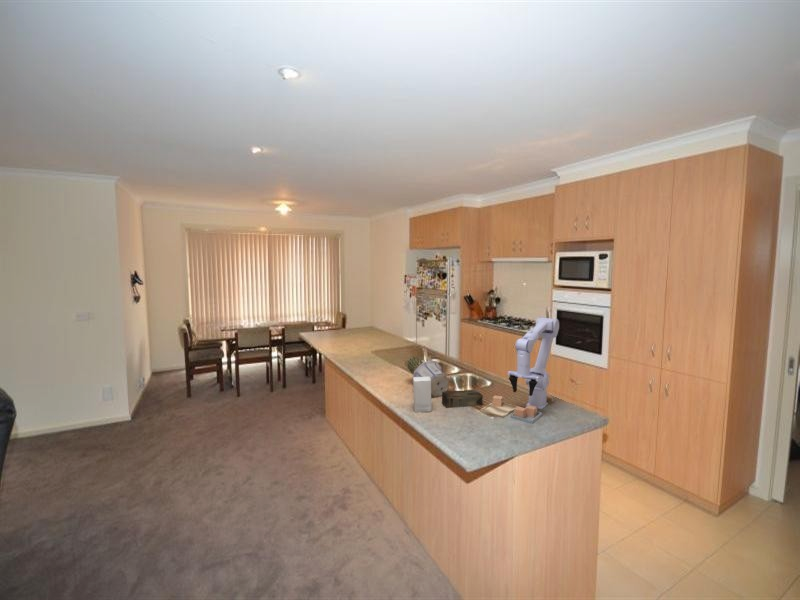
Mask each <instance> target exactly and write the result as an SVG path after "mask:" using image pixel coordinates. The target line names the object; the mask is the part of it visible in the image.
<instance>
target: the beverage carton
mask: <svg viewBox="0 0 800 600" xmlns="http://www.w3.org/2000/svg"><path fill="white" fill-rule="evenodd" d="M441 404H442V405H443V407H444V408H445V409H451V408H452V409H454V408H464V407H465V408H466V407H478V406H483V394H482V393H481V392H480V391H479V390H478V389H472V390H455V391H453V390H452V391H446V392H442V395H441Z"/></svg>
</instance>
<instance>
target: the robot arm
mask: <svg viewBox="0 0 800 600" xmlns="http://www.w3.org/2000/svg"><path fill="white" fill-rule="evenodd" d="M559 330H560V320H559V319H558V318H549V317H541V316H538V317H537V318H536V321H535V326H534V327H533V329H532V330H528V331H527V332H526V333H525V334H524V335H523V337H521V338H518V339H516V342H515V345H514V349H515V351H516V352H515V353H516V355H517V357H516V358H517V360H516V361H517V363H516V371H515V370H514V371H513V370H509V371H507V376H508V380H509V381H510V384H511V387H512V391H513V393H516V392H517V389H518V379H519V378H520V379H524V380H525V383H526V386H527V388H528V402H527V403H526V404H525V407H526V406H528V405H532V406H536V407H537V410H538V409H539V410H542V409H544V408H545V407H546V406H548V405H549V403H548V402H547V393H548V392H547V388H548V387H549V385H550V374H549V372H548V371H547V370H546V368H547V364H548V359H549V355H550V352H551V349H552V345H553V342H554V338H557V336H558V334H559ZM540 337H542V338H541V343H540V347H539V349H538V350H539V351H538V354H537V356H536V360H535V365H534V367H531V353H532V352H533V349H534V346H535V344H536V342H537V341H538V340H539V339H540Z"/></svg>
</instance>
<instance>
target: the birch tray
mask: <svg viewBox="0 0 800 600" xmlns="http://www.w3.org/2000/svg"><path fill="white" fill-rule="evenodd" d="M517 406H518V405H514V404H510V403H507V402H503V405H502V406H501V407H497V406H493V401H492V402H491V403H489V404H487V405H486V406H484V407H482V408H481V409H479V412H480V413H484V414H488V415H491V416H495V417H499V418H502V419H503V418H505V417H507V416H509V415H511V413H512V412H514V409H515V408H516V407H517Z"/></svg>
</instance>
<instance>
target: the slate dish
mask: <svg viewBox="0 0 800 600" xmlns="http://www.w3.org/2000/svg"><path fill="white" fill-rule="evenodd" d="M509 415H510V416H509V417H510V418H509V419H513V420H517V421H520V422H524V423H526V424H532V425H533V424H534V423H535V422H536V421H537V420H539V419H540V418H541V417H542V416H543V412H541V411H537V416H535V417H534V418H532V417H528V416H526V417H525V418H521V417H517V416H514V412H513V413H512V414H509Z"/></svg>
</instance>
